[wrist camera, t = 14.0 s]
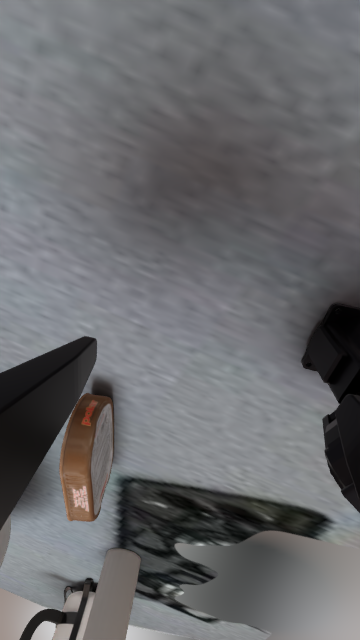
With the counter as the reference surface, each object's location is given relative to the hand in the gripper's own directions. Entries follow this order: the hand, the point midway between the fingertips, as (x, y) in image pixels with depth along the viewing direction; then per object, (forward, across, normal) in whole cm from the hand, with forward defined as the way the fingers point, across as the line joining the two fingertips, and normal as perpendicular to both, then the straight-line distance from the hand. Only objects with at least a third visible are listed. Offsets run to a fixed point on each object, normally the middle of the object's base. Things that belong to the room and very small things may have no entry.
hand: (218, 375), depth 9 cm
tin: (+13, +8, +22) cm, 27 cm away
